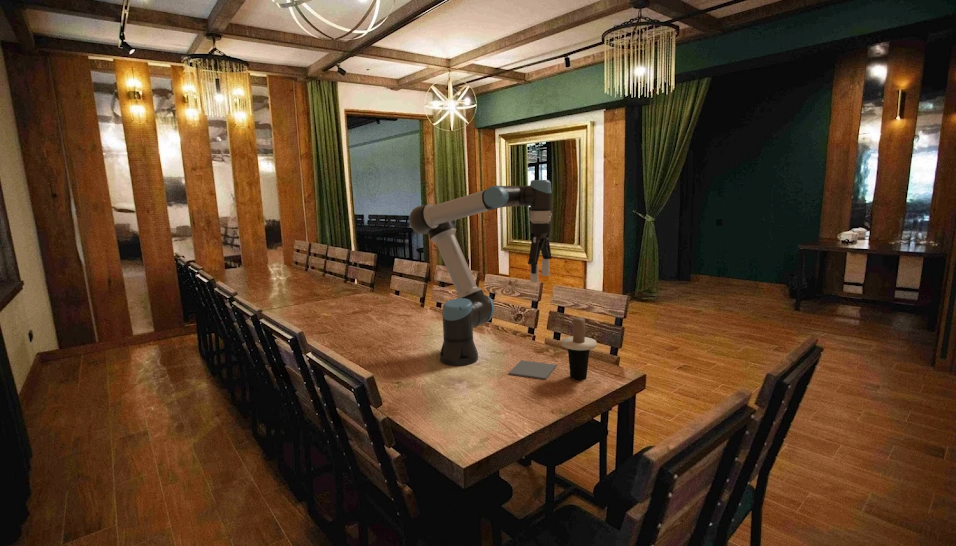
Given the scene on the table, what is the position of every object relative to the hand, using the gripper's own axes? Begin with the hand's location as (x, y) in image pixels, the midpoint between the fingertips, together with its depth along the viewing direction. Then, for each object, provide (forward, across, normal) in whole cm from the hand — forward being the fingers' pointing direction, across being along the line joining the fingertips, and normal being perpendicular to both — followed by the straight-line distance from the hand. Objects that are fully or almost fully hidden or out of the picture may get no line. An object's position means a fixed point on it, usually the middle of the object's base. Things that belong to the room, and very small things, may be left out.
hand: (540, 278), depth 181 cm
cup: (+32, -11, -18) cm, 39 cm away
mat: (+32, -10, -1) cm, 34 cm away
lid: (+20, -11, -18) cm, 29 cm away
